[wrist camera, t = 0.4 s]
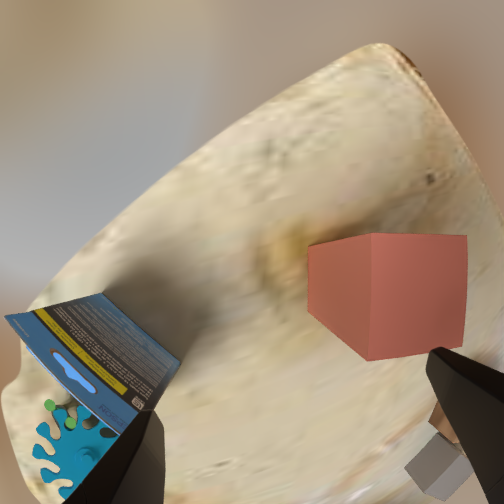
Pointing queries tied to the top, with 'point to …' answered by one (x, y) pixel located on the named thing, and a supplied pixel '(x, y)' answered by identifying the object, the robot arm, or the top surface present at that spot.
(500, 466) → the robot arm
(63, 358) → the label tape cartridge
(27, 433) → the top surface
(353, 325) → the red block
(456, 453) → the gray cube
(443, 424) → the walnut cube
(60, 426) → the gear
